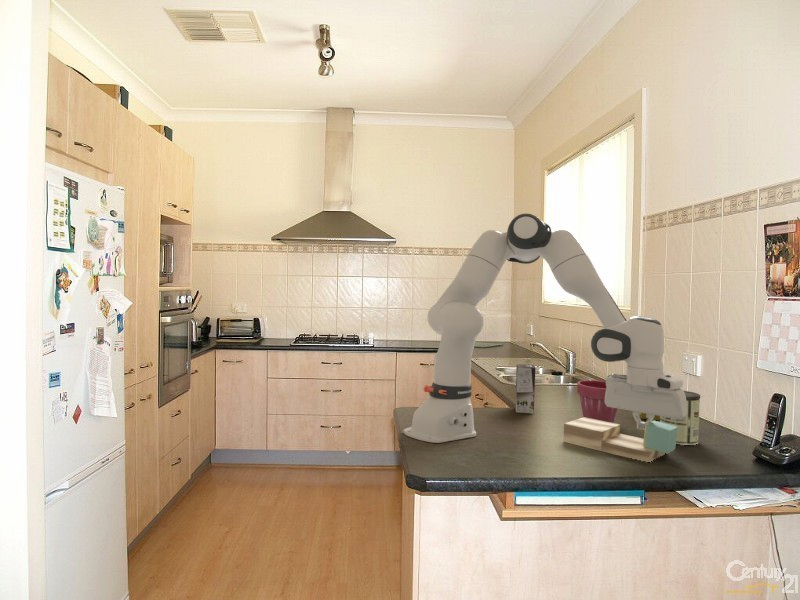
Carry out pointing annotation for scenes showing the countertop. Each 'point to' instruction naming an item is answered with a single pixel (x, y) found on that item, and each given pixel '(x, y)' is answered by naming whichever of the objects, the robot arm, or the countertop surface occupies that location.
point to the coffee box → (525, 388)
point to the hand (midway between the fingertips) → (643, 429)
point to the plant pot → (595, 400)
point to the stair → (607, 439)
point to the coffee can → (687, 421)
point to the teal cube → (660, 436)
